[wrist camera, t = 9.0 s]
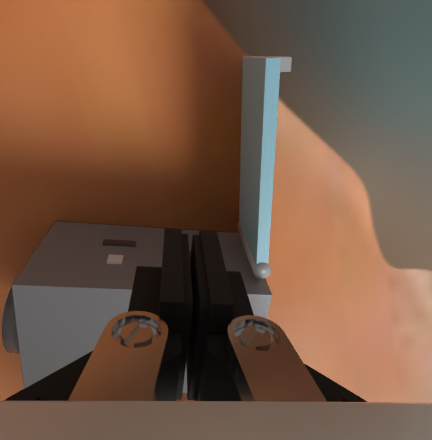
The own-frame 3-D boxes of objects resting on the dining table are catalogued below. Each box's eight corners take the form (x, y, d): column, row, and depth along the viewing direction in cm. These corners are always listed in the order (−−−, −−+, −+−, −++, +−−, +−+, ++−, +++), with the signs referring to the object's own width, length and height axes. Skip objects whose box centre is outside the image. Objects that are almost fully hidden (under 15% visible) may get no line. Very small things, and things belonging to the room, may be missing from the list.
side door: (262, 231, 32) (286, 277, 25) (236, 232, 32) (253, 279, 25) (271, 56, 26) (305, 57, 20) (239, 56, 26) (262, 58, 19)
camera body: (246, 232, 32) (274, 298, 24) (231, 315, 36) (251, 399, 27) (28, 217, 29) (-31, 287, 21) (36, 309, 33) (-11, 401, 24)
